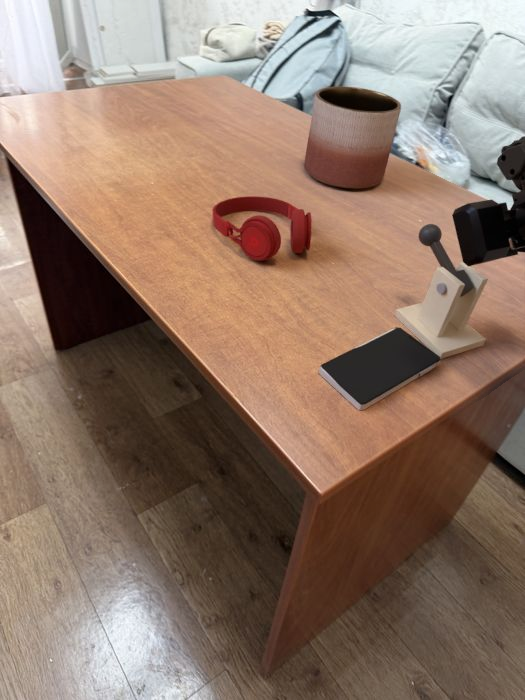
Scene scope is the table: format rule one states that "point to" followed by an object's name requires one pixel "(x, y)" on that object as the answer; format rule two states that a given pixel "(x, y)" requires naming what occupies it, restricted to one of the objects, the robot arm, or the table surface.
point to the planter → (351, 136)
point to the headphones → (263, 226)
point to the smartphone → (378, 367)
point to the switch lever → (443, 254)
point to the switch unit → (446, 313)
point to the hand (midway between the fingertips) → (469, 243)
